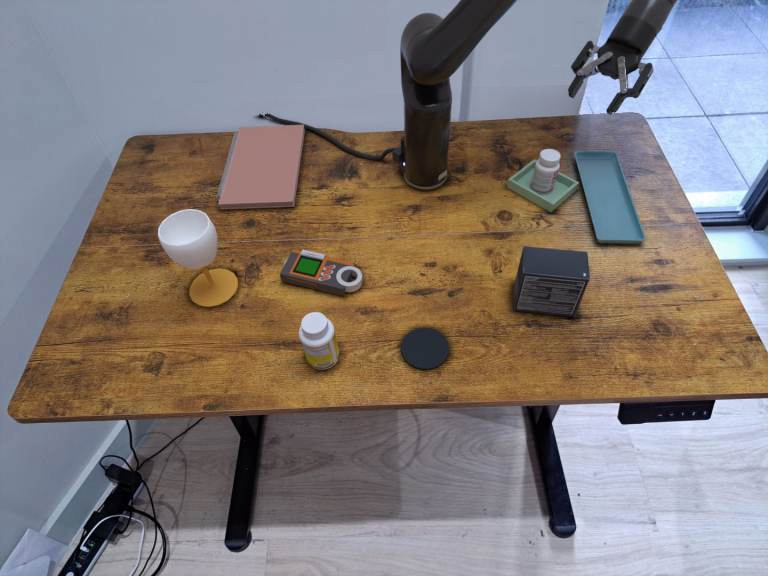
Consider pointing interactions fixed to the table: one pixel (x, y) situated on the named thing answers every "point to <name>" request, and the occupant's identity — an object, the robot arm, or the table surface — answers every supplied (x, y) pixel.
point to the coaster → (425, 348)
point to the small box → (550, 281)
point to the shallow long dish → (609, 198)
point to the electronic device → (320, 272)
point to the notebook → (262, 168)
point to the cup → (197, 255)
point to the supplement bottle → (319, 341)
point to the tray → (547, 201)
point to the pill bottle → (545, 171)
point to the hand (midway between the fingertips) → (589, 104)
